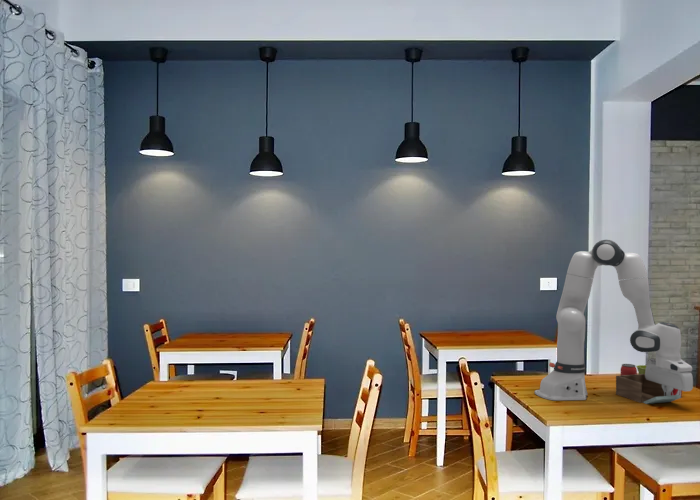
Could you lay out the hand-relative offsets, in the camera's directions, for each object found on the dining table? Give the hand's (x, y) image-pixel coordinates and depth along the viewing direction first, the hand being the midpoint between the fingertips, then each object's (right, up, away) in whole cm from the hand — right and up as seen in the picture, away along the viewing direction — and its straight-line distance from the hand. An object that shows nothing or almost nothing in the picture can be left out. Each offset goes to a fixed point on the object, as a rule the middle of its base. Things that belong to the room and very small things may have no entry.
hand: (667, 396), depth 218 cm
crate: (-5, -4, +10) cm, 12 cm away
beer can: (-3, -5, +24) cm, 24 cm away
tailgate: (-3, -3, +4) cm, 6 cm away
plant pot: (+11, -5, +35) cm, 37 cm away
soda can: (+10, -4, +13) cm, 17 cm away
